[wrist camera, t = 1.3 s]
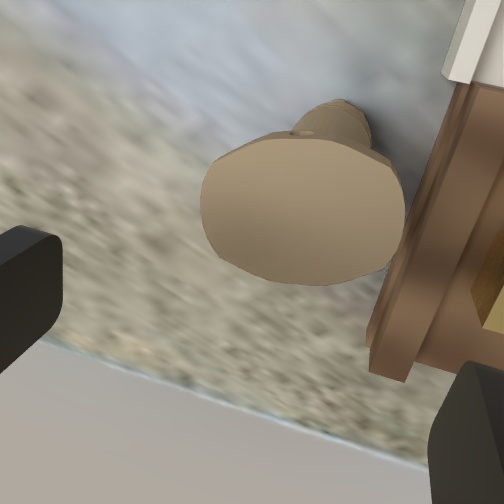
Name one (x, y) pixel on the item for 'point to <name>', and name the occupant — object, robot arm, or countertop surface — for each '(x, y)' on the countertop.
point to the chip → (491, 287)
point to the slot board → (446, 247)
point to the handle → (306, 202)
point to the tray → (478, 44)
